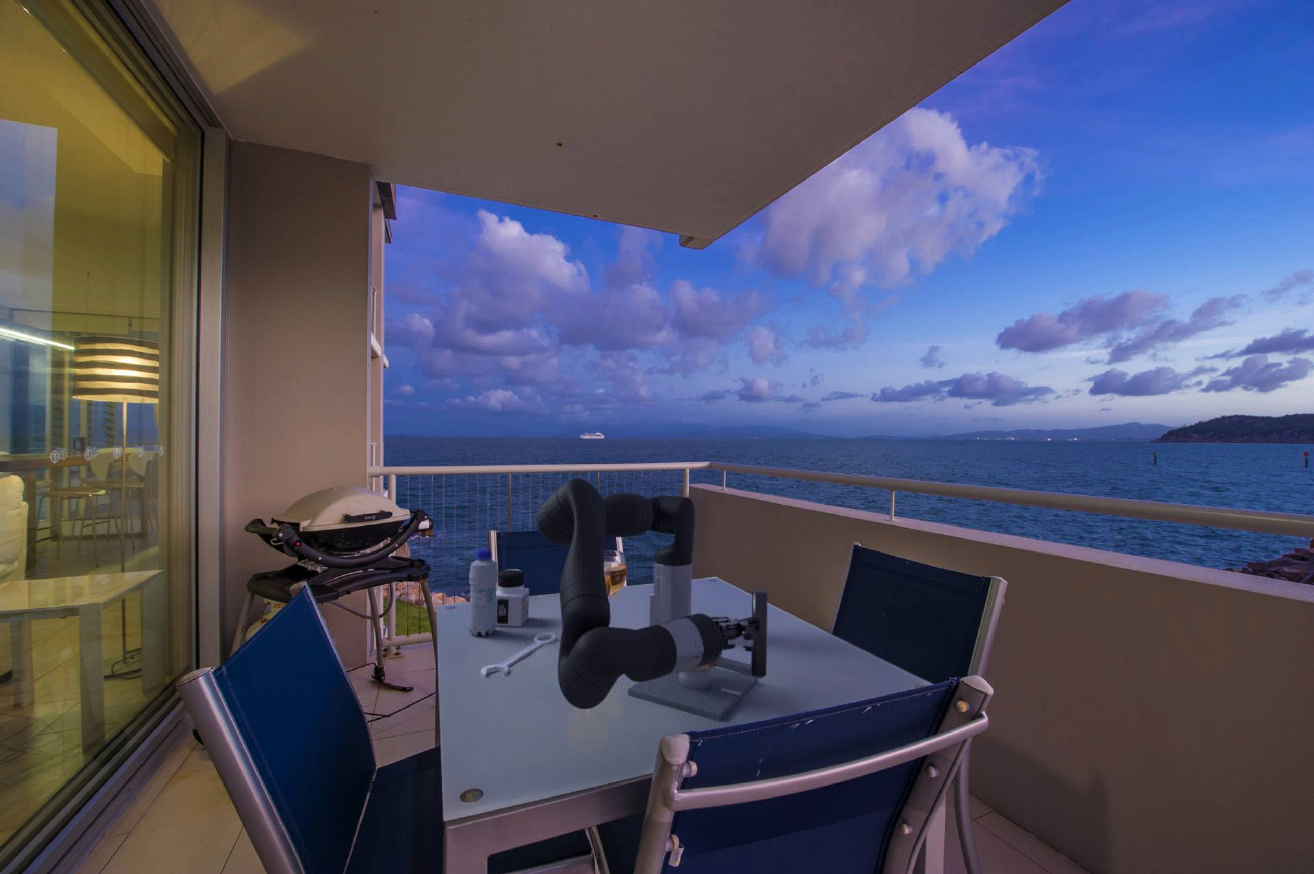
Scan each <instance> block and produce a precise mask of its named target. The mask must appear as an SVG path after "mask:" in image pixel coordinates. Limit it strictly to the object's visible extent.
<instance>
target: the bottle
mask: <svg viewBox="0 0 1314 874" xmlns="http://www.w3.org/2000/svg"><path fill="white" fill-rule="evenodd" d="M469 570H470V571H469V574H468V578H469V581H468V583H469V584H470V591H469V593H470V594H469V595H470V597H469V612H468V613H469V615H468V631H469V633H470V634H471V635H474V636H475V637H478V635H479V633H480V634H481V637H484V636H485V635H486V632H487V635H491V634H492V633H493V632H494V631H495V630H496V627H497V626H496V591H497V584H498V574H499V571H498V562H497V561H495V560H493V559H492V551H491V550H490V549H486V548H482V549H478V551H476V560H475V561H473V562H471V564H470V569H469Z"/></svg>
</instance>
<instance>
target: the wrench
mask: <svg viewBox="0 0 1314 874" xmlns="http://www.w3.org/2000/svg"><path fill="white" fill-rule="evenodd" d="M545 638H547V640H541V639H545ZM533 639H534V640H533V641H534V642H533V643H532V644H530V645H529V646H527V647H525V648H524V649H522V650H520V651H518V652H517V653H515V654H513V655H512V656H510V657H508V658H507V659H505V660H504V661H502V662H500V663H496V664H490V665H489V664H488V665H486V666H484V667H482V668H481V669H480V675H481V676H482V677H483V678H487V674H490V673H494V672H500V673H501V672H502V673H503V675H504V676H506V675H508V674H509V673H510V668H509V667H510V666H512V665H513V664H515V663H517V662H518V661H520V660H522V659H523V658H525V657H526V656H528V655H529V654H531V653H532V652H534V651H535V650H536V651H537V649H539V648H540V647H542V646H544V645H549V644H550V645H551V644H552V643H553V644H554V643H555V642H556V641H557V636H556V633H553V632H543V633H538V634H537V635H536V636H535V637H534V638H533Z"/></svg>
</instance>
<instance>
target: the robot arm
mask: <svg viewBox="0 0 1314 874" xmlns="http://www.w3.org/2000/svg"><path fill="white" fill-rule="evenodd" d="M535 517H536V520H535V522H536V523H535V524H536V526H537V528H538V531H539V532H540V534H541V535H542V536H543V537H544V538H545V539H547V540H548V541H550V542H551V543H554V544H556V545H560V546H565V547H566V546H567V547H568V546H569V550H568V554H567V557H566V558H565V562H564V566H563V569H562V573H561V577H560V583H559V601H560V604H559V605H560V614H561V622H562V623H561V624H562V628H561V634H560V641H559V642H560V643H559V650H558V661H557V679H558V685H559V689H560V691H561V693H562V695H563V697H564V698H565V700H566V701H567V702H568V703H569V705H571V706H573V707H574V708H578V709H579V710H589V709H593V708H596V707H598V706H599V705H601V703H603V701H604V700H605V699H606V698H607V696H609V694H610V691H612V688H613V687H614V685H615V684H616V682H617V681H618V680H619V678H620V677H622V676H624V675H625V677H627V678H628V680H631V681H632V682H635V683H639V682H645V681H649V680H653V679H656V678H659V677H663V676H666V675H669V674H677V673H681V672H685V671H688V670H691V669H694V668H697V667H701V666H704V665H707V664H710V663H712V662H714V661H715V660H716V659H717V658H718V656H719V655H720V653H721V652H723V651H727V650H734V649H735V648H736V646H741V647H742V648H743V649H744V651H745V652H751V651H753V642H754V638H753V633H756V632H759V631H760V619H759V618H755V617H752V616H750V617H745V618H742V619H739V618H736V617H735V618H730V617H728V616H710V615H707V614H705V613H701V612H700V613H695V614H692V585H693V584H692V583H693V582H692V578H693V576H692V573H693V571H692V569H693V567H692V565H693V564H692V563H693V552H694V540H695V525H696V509H695V503H694V501H693V499H692V498H690V497H688V496H673V495H659V496H658V495H657V496H653V497H652V496H651V497H647V498H646V497H645V496H644V495H642V494H639V493H632V492H617V493H613V494H610V495H607V496H604V497H603V496H602V495H601V493H600V492H599V489H597V488H596V487H595V486H594V485H593V484H592V483H591V482H589V481H588V480H585V479H583V478H580V477H579V478H578V477H575V478H571V479H569V480H568V481H566V482H564V483H563V484H562V485H561V486H560V487H559V488H557V490H556V491H554V493H553V494H552V495H551V496H549V498H548V499H546V500H545V501H544V502H543V503H542V505H541V506H540V508H539V509H538V511H537V513H536V516H535ZM647 531H650V532H654V533H659V534H664V535H665V534H666V535H674V540H673V541H672V543H671V544H669V545H667V546H664V547H660V548H658V549H656V550H655V551H654V555H653V592H651V593H650V594H649V626H646V627H641V628H638V629H633V628H627V627H614V626H613V627H612V626H610V624H611V617H612V616H611V608H610V601H609V596H608V590H607V588H608V587H607V584H606V583H607V582H606V576H605V575H606V574H605V544H606V543H605V540H606V539H612V538H613V539H614V538H632V537H633V538H634V537H638V536H641V535H643V534H645V533H646V532H647Z"/></svg>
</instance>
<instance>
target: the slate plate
mask: <svg viewBox="0 0 1314 874" xmlns="http://www.w3.org/2000/svg"><path fill="white" fill-rule="evenodd" d="M758 683H759V678H755V677H752V676H748V675H745V674H741V673H738V672H734V671H731V670H727V669H724V668H720V667H714V668H709V669H702V670H692V669H691V670H688V671H685V672H681V673H677V674H669V675H666V676H663V677H659V678H656V679H653V680H649V681H645V682H636V684H634V685H632V686H631V687H630V688H628V689H627V696H631V697H634V698H638V699H640V700H641V699H642V700H643V701H644V700H645V701H649V702H652V703H656V704H659V705H662V706H665V705H666V707H669V708H672V707H673V709H675V710H679V711H683V710H684V711H683V712H687V713H690V714H693V715H697V716H701V717H703V716H704V717H705V718H707V719H710V720H714V721H716V722H717V721H719V722H720V721H721V720H722V719H723V718H724V716H727V714H728V713H729V712H730V711H731V710H732V709H733V708H734V707H735V706H736V705H737V704H738V703H739V702H740V701H741V700H742V699H744V697H745V696H747V694H749V692H750V691H752V689H753V688H755V687H756V685H758Z"/></svg>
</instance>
